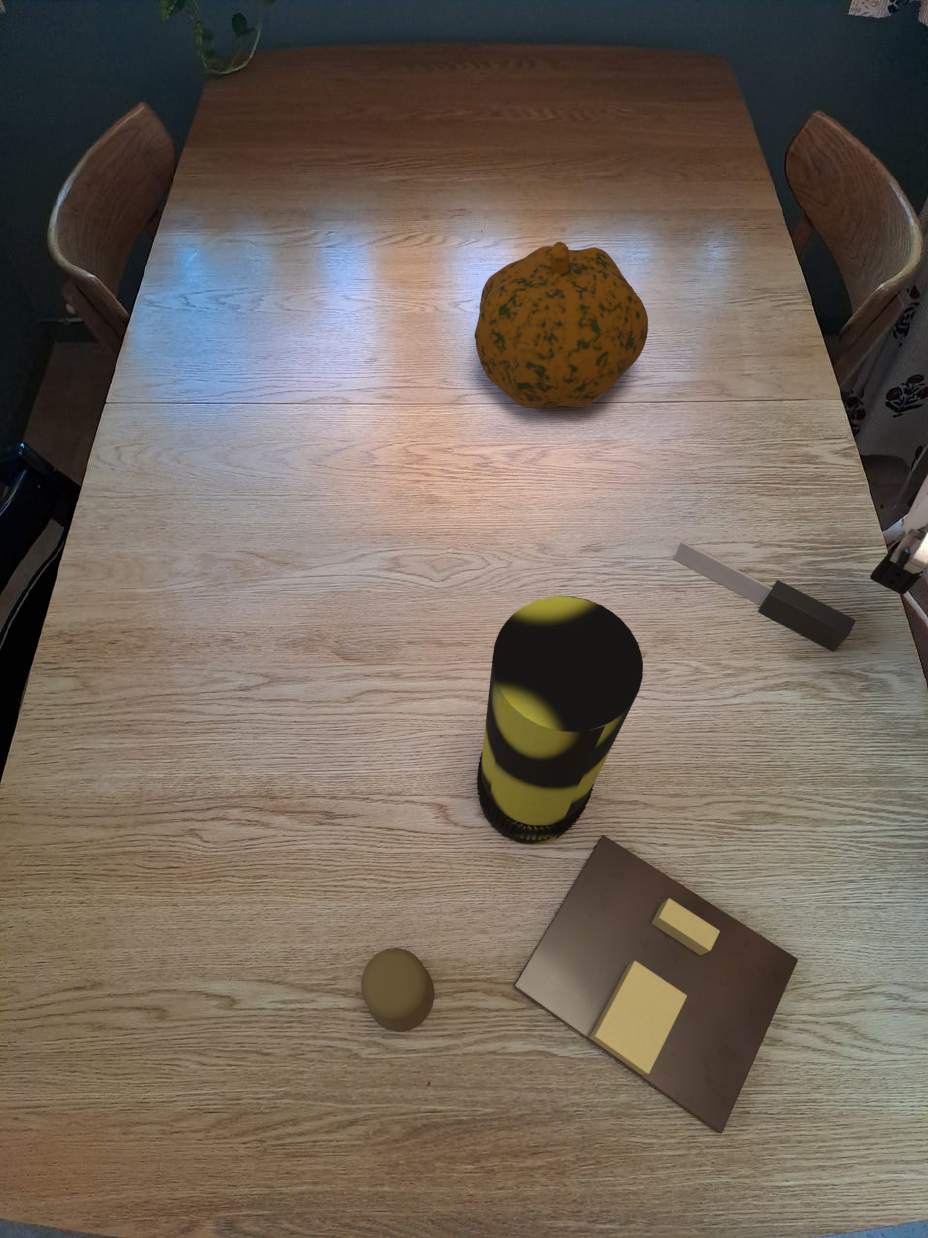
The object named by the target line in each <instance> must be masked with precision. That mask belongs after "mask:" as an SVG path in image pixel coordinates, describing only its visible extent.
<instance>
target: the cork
mask: <svg viewBox="0 0 928 1238" xmlns="http://www.w3.org/2000/svg"><path fill="white" fill-rule="evenodd" d="M360 985H361V995H362V997H363V1000H364V1002H365V1005H366V1006H367V1008H368V1010H369V1013H370V1015H371V1017H372V1018H373V1019H374V1021H375V1022H376V1023H377V1024H378V1025H379V1026H381V1028H384V1029H386V1030H387V1031H391V1032H396V1033H401V1032H408V1031H411V1030H413V1029H415V1028H417V1027H419V1026H420V1025H421V1024H422V1023H423V1022H424V1021H425V1020H426V1019H427V1018H428V1017H429V1014H430V1013H431V1010H432V1008H433V1006H434V1000H435V985H434V982H433V980H432V976H431V975H430V973H429V971H428V970H427V969H426V968H425V967H424V965H423V962H422V961H421V960H420V959H419V957H418V956H417V955H416V954H414V953H412V952H411V951H409V950H407V949H404V948H399V947H392V948H386V949H384V950H382V951H380V952H378V953H376V954H375V955H374V956H373V957H372V958H371V959H370V960H368V963H367V964H366V966H365V967H364V970H363V972H362V977H361V981H360Z"/></svg>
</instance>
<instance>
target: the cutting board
mask: <svg viewBox="0 0 928 1238" xmlns="http://www.w3.org/2000/svg"><path fill="white" fill-rule="evenodd" d="M669 898H670V899H671V900H673V901H675V902H676V903H678V904H679V905H681V906H682V907H684V908H685V909H687V910H689V911H690V912H692V913H693V914H695V915H696V916H698V917H699V918H701V919H702V920H704V921H706V922H707V923H709V924H710V925H712V926H713V927H715V928H716V929H718V930H719V931H720V933H719V935H718V937H717V939H716V941H715V943H714V945H713V947H712V949H711V951H709V952H707V953H705V954H703V955H699V954H697V953H696V952H694V951H693V950H691V949H690V948H688V947H687V946H685V945H684V944H682V943H681V942H679V941H678V940H676V939H674V938H673V937H671V936H670V935H668V934H667V933H665V932H664V931H662V930H661V929H659V928H658V927H656V926H655V925H653V924H652V921H653V919H654V917H655V915H656V913H657V911H658V909H659V908H660V906H661V904H663V903H664V902H665V901H666V900H667V899H669ZM633 961H637V962H638V963H640V964H641V965H643V966H644V967H646V968H647V969H649V970H650V971H652V972H653V973H655V974H656V975H658V976H659V977H661V978H662V979H663V980H665V981H666V982H668V983H669V984H671V985H672V986H674V987H675V988H677V989H678V990H680V991H681V992H683V993H684V994H686V995H687V998H686V1000H685V1002H684V1004H683V1006H682V1008H681V1010H680V1012H679V1014H678V1016H677V1018H676V1020H675V1022H674V1024H673V1026H672V1028H671V1030H670V1032H669V1034H668V1036H667V1038H666V1040H665V1042H664V1045H663V1047H662V1049H661V1051H660V1053H659V1055H658V1057H657V1059H656V1061H655V1063H654V1065H653V1067H652V1069H651V1071H650V1073H649V1074H639V1073H638V1072H636V1071H635V1070H634V1069H632V1068H631V1067H629V1066H628V1065H627V1064H625V1063H624V1062H622V1061H621V1060H620V1059H618V1058H617V1057H615V1056H614V1055H613V1054H611V1053H610V1052H608V1051H607V1050H606V1049H604V1048H603V1047H601V1046H600V1045H599V1044H597V1043H596V1042H594V1041H593V1040H592V1039H590V1035H591V1033H592V1032H593V1030H594V1028H595V1026H596V1024H597V1022H598V1020H599V1018H600V1017H601V1015H602V1013H603V1011H604V1009H605V1007H606V1005H607V1003H608V1001H609V1000H610V998H611V996H612V994H613V992H614V990H615V988H616V986H617V985H618V983H619V981H620V979H621V977H622V975H623V973H624V971H625V969H626V968H627V966H628V965H629V964H630V963H632V962H633ZM798 962H799V958H797V957H796V956H794V955H793V954H791V953H790V952H789V951H786V950H785V949H783V948H782V947H780V946H779V945H777V944H776V943H773V942H772V941H771V940H769V939H768V938H766V937H764V936H763V935H761V934H759V933H758V932H756V931H755V930H753V929H751V928H750V927H749V926H747V925H745V924H744V923H742V922H741V921H739V920H738V919H736V918H734V917H733V916H731V915H730V914H728V913H726V911H723V910H722V909H721V908H719V907H717V906H716V905H714V904H713V903H711V902H710V901H708V900H706V899H705V898H703V897H702V896H700V895H699V894H697V893H695V892H693V891H692V890H691V889H689V888H688V887H686V886H684V885H683V884H682V883H680V882H678V881H677V880H675V879H674V878H672V877H671V876H669V875H667V874H666V873H664V872H662V871H661V870H660V869H658V868H656V867H655V866H653V865H652V864H649V863H648V862H646V861H645V860H643V858H640V857H639V856H638V855H636V854H634V853H632V852H631V851H629V850H628V849H626V848H625V847H624V846H622V845H620V844H619V843H617V842H615V841H614V840H612V839H610V838H609V836H607V835H604V834H602V835H601V836H600V838H599V840H598V841H597V843H596V845H595V846H594V849H593V850H592V852H591V854H590V855H589V857H588V858H587V860H586V862H585V863H584V865H583V867H582V868H581V870H580V873H578V876H577V877H576V879H575V880H574V883H572V885H571V887H570V889H569V891H568V892H567V894H566V896H565V897H564V899H563V901H562V903H561V905H560V906H559V908H558V909H557V911H556V913H555V914H554V916H553V918H552V919H551V922H550V923H549V925H548V926H547V928H546V929H545V932H544V933H543V935H542V937H541V938H540V940H539V942H538V944H537V945H536V947H535V949H534V951H533V952H532V953H531V956H530V957H529V959H528V960H527V962H526V964H525V966H524V967H523V968H522V971H521V972H520V975H519V976H518V977H517V979H516V982H515V983H514V984H513V989H514V990H516V991H517V992H519V994H521V995H523V996H524V997H526V998H527V999H528V1000H530V1001H531V1002H533V1003H534V1004H536V1005H537V1006H538V1007H540V1008H541V1009H542V1010H544V1011H545V1012H547V1013H548V1014H549V1015H550V1016H552V1017H554V1018H555V1019H557V1020H558V1021H559V1022H561V1023H562V1024H563V1025H565V1026H566V1027H568V1029H570V1030H572V1031H573V1032H575V1033H576V1034H577V1035H579V1036H580V1037H582V1038H583V1039H584V1040H586V1042H588V1043H590V1044H591V1045H593V1046H594V1047H596V1048H597V1049H598V1050H600V1051H601V1052H603V1053H604V1054H605V1055H607V1056H608V1057H610V1058H611V1059H612V1060H614V1061H615V1062H617V1063H618V1064H620V1065H621V1066H623V1068H625V1069H627V1070H628V1071H629V1072H631V1073H632V1074H633V1075H634V1076H636V1077H638V1078H639V1079H640V1080H641V1081H643V1082H644V1083H646V1084H648V1085H649V1086H650V1087H652V1088H653V1089H654V1090H656V1091H657V1092H659V1093H660V1094H661V1095H663V1096H664V1097H665V1098H667V1099H668V1100H669V1101H671V1102H672V1103H674V1104H675V1105H677V1106H678V1107H680V1108H681V1109H683V1110H684V1111H685V1112H686V1113H688V1114H690V1115H691V1116H692V1117H694V1118H695V1119H696V1120H698V1121H700V1122H701V1123H702V1124H703V1125H705V1126H706V1127H707V1128H709V1129H710V1130H712V1131H713V1132H715V1133H717V1134H723V1132H724V1130H725V1127H726V1125H727V1123H728V1121H729V1118H730V1116H731V1114H732V1111H733V1109H734V1108H735V1105H736V1103H737V1101H738V1098H739V1096H740V1094H741V1092H742V1089H743V1087H744V1084H745V1082H746V1080H747V1077H748V1076H749V1073H750V1071H751V1069H752V1066H753V1064H754V1061H755V1059H756V1057H757V1055H758V1053H759V1050H760V1048H761V1046H762V1043H763V1041H764V1039H765V1037H766V1035H767V1032H768V1030H769V1027H770V1026H771V1023H772V1021H773V1018H774V1016H775V1014H776V1011H777V1009H778V1007H779V1005H780V1003H781V1000H782V998H783V995H784V994H785V991H786V989H787V986H788V984H789V982H790V980H791V977H792V975H793V973H794V971H795V968H796V966H797V964H798Z"/></svg>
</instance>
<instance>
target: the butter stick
mask: <svg viewBox="0 0 928 1238" xmlns="http://www.w3.org/2000/svg"><path fill="white" fill-rule="evenodd" d="M686 998H687V995H686V994H684V993H683V992H681V991H680V990H678V989H677V988H675V987H674V986H672V985H671V984H669V983H668V982H666V981H665V980H663V979H662V978H661V977H659V976H658V975H656V974H655V973H653V972H652V971H650V970H649V969H647V968H646V967H644V966H643V965H641V964H640V963H638V962H637V961H633V962H632V963H630V964H629V965H628V966H627V968H626V969H625V971H624V973H623V975H622V977H621V979H620V981H619V983H618V985H617V986H616V988H615V990H614V992H613V994H612V996H611V998H610V1000H609V1001H608V1003H607V1005H606V1007H605V1009H604V1011H603V1013H602V1015H601V1017H600V1018H599V1020H598V1022H597V1024H596V1026H595V1028H594V1030H593V1032H592V1033H591V1035H590V1039H592V1040H593V1041H594V1042H596V1043H597V1044H599V1045H600V1046H601V1047H603V1048H604V1049H606V1050H607V1051H608V1052H610V1053H611V1054H613V1055H614V1056H615V1057H617V1058H618V1059H620V1060H621V1061H622V1062H624V1063H625V1064H627V1065H628V1066H629V1067H631V1068H632V1069H634V1070H635V1071H636V1072H638V1073H639V1074H649V1073H650V1071H651V1069H652V1067H653V1065H654V1063H655V1061H656V1059H657V1057H658V1055H659V1053H660V1051H661V1049H662V1047H663V1045H664V1042H665V1040H666V1038H667V1036H668V1034H669V1032H670V1030H671V1028H672V1026H673V1024H674V1022H675V1020H676V1018H677V1016H678V1014H679V1012H680V1010H681V1008H682V1006H683V1004H684V1002H685V1000H686Z"/></svg>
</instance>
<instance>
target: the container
mask: <svg viewBox="0 0 928 1238" xmlns="http://www.w3.org/2000/svg"><path fill="white" fill-rule="evenodd" d="M643 672H644V661H643V655H642V651H641V647H640V645H639V643H638V641H637V638H636V637H635V635H634V634H633V632H632V630H631V629H630V628H629V626H628V625H627V624H626V623H625V622H624V621H623V619H621V618H620V617H619V616H618V615H617V614H615V612H614V611H612V610H610V609H608V608H607V607H605V606H604V605H602V604H599V603H597V602H595V601H592V600H589V599H586V598H581V597H576V596H569V595H568V596H567V595H559V596H558V595H557V596H549V597H544V598H541V599H537V600H534V601H532V602H530V603H528V604H526V605H524V606H522V607H521V608H519V609H518V610H517V611H515V612H514V613H513V614H512V615H510V617H508V619H507V620H506V621H505V622H504V623H503V625H502V627H501V628H500V630H499V631H498V634H497V637H496V639H495V642H494V644H493V652H492V660H491V669H490V678H489V688H488V697H487V705H486V714H485V715H486V717H485V724H484V725H485V726H484V735H483V745H482V750H481V751H480V756H479V759H478V760H479V761H478V762H477V763H478V765H477V775H476V790H477V795H478V801H479V805H480V807H481V809H482V812H483V814H484V817H485V818H486V820H487V821H488V823H489V824H490V826H491V827H492V828H494V829H495V830H496V831H497V832H498V833H499V834H501V836H503V837H505V838H508V839H509V840H511V841H514V842H516V843H519V844H526V845H538V844H546V843H549V842H550V841H553V840H556V839H558V838H560V837H561V836H562V835H563V834H565V833H566V832H568V831H569V830H570V828H572V826H573V825H574V824H576V823H577V820H580V818H581V816H582V814H583V813H584V811H585V809H586V807H587V805H588V802H589V800H590V799H591V797H592V793H593V791H594V786H595V783H596V780H597V778H598V776H599V774H600V772H601V770H602V768H603V766H604V764H605V762H606V761H607V760H606V759H607V757H608V755H609V753H610V752H611V749H612V748H613V746H614V743H615V742H616V740H617V737H618V735H619V733H620V731H621V729H622V727H623V725H624V723H625V721H626V719H627V717H628V715H629V713H630V711H631V708H632V707H633V705H634V703H635V700H636V699H637V696H638V694H639V692H640V688H641V685H642V682H643V678H644V673H643Z"/></svg>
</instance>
